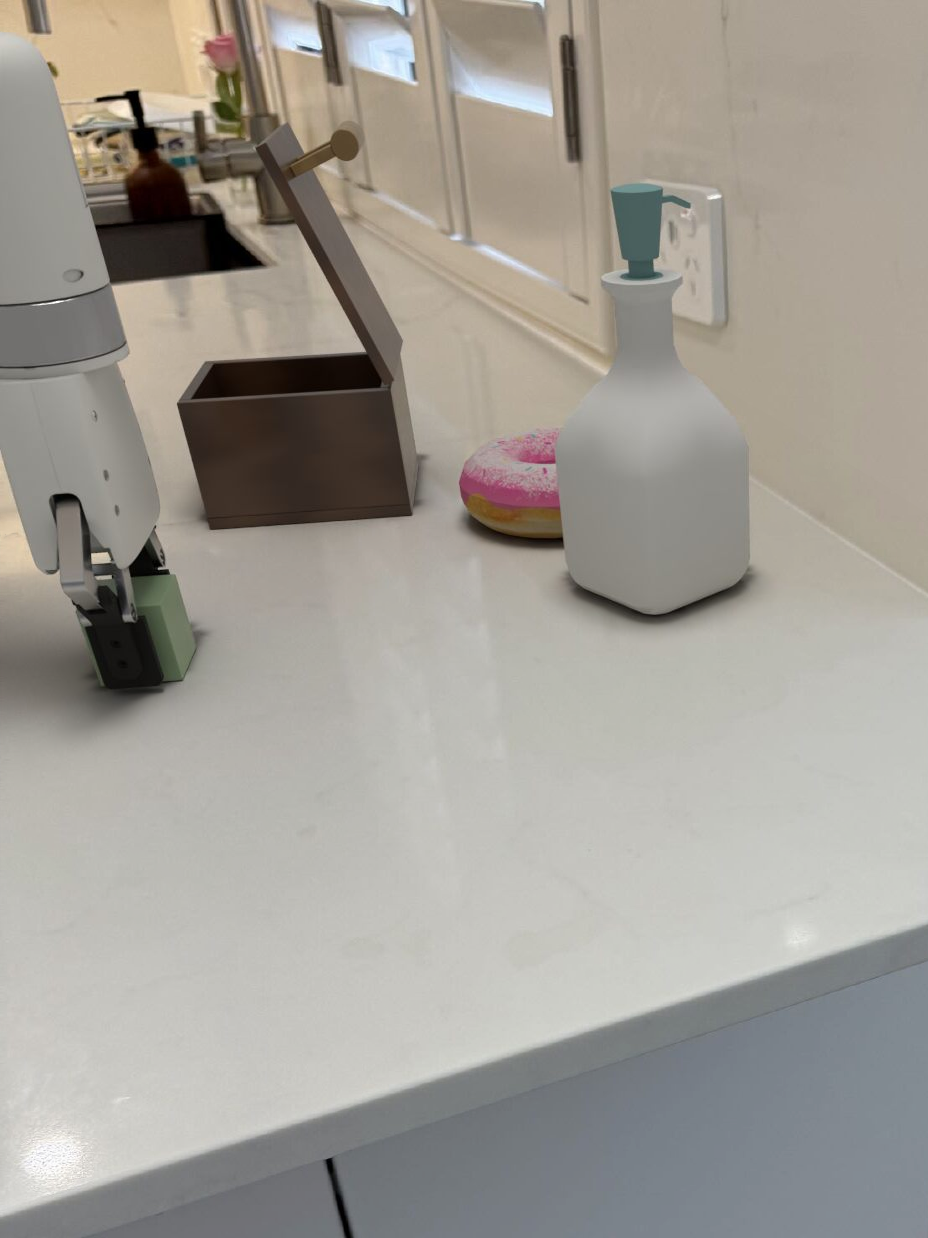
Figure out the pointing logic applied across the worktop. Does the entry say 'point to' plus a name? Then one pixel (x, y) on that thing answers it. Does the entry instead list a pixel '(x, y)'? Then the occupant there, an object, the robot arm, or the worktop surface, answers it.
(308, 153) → the lid
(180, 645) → the block
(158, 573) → the robot arm
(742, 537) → the soap bottle
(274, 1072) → the worktop surface
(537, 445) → the donut
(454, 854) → the worktop surface
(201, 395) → the tea box
